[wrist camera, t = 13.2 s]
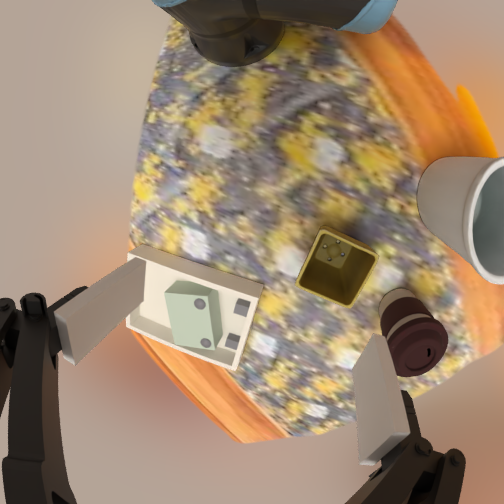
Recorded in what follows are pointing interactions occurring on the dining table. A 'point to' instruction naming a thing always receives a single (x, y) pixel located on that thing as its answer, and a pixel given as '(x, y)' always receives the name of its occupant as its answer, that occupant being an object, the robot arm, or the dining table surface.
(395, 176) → the dining table surface
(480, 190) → the utensil holder
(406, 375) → the coffee cup
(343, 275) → the flower pot
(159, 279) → the tray
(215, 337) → the dotted green block
